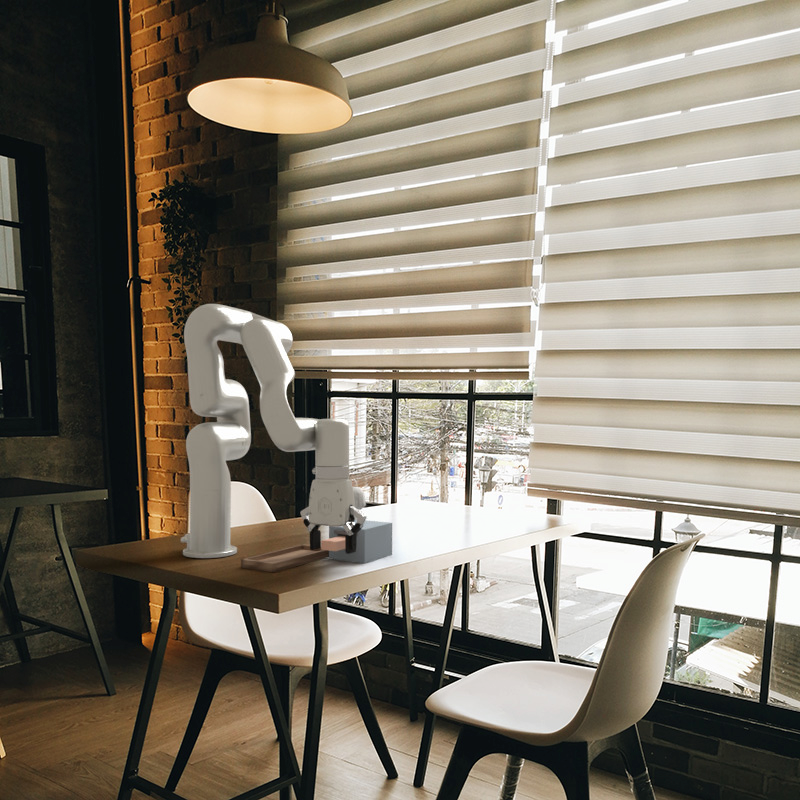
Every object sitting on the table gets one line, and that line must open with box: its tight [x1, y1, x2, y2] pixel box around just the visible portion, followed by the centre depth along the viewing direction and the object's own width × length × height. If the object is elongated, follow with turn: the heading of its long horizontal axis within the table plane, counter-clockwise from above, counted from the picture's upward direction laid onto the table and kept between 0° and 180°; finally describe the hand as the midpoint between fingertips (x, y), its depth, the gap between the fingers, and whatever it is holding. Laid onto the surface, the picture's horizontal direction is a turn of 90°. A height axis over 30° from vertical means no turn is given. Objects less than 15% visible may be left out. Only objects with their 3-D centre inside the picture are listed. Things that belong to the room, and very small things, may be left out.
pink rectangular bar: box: [321, 535, 346, 551], centre depth 167 cm, size 4×16×2 cm, turn 150°
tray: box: [240, 543, 329, 573], centre depth 166 cm, size 10×22×2 cm, turn 150°
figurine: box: [353, 486, 367, 520], centre depth 187 cm, size 10×6×15 cm, turn 146°
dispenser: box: [328, 519, 393, 564], centre depth 171 cm, size 10×12×8 cm
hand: (332, 550), depth 161 cm, fingers open, 9 cm apart
